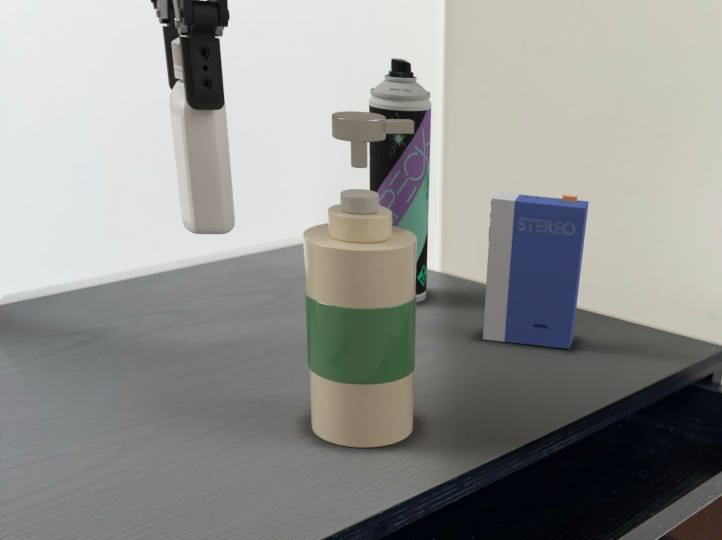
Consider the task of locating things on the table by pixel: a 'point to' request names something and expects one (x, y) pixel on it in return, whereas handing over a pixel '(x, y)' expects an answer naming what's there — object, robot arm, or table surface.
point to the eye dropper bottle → (201, 161)
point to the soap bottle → (360, 323)
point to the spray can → (404, 159)
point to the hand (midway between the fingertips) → (196, 99)
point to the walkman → (534, 269)
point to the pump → (366, 131)
